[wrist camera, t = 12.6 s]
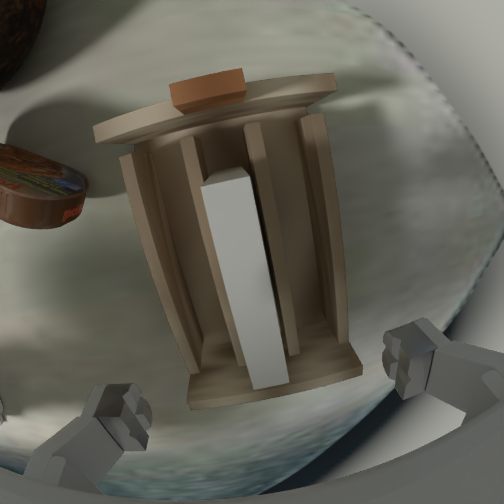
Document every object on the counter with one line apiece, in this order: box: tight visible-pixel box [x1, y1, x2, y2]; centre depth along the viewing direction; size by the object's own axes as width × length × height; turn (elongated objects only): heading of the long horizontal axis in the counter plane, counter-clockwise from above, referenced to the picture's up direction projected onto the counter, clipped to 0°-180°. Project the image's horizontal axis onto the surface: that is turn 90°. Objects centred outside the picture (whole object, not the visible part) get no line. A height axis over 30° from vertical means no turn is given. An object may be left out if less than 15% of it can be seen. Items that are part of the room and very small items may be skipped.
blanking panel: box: [200, 166, 289, 390], centre depth 18 cm, size 2×11×10 cm, turn 12°
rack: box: [93, 68, 363, 410], centre depth 19 cm, size 13×20×11 cm, turn 11°
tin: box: [0, 143, 89, 229], centre depth 17 cm, size 15×3×8 cm, turn 66°
